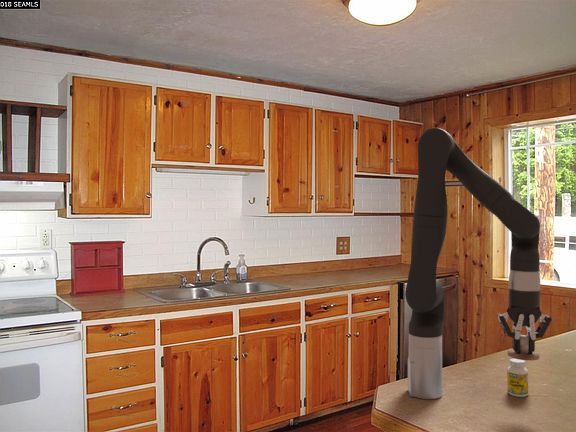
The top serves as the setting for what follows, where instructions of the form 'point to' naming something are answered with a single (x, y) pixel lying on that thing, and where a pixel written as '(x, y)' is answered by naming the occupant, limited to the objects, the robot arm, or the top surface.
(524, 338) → the lid
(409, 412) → the top surface
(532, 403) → the top surface
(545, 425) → the top surface
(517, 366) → the supplement bottle
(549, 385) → the top surface
